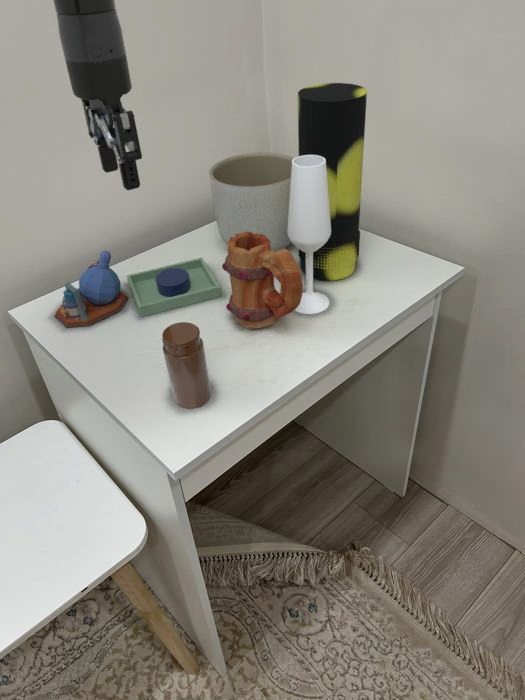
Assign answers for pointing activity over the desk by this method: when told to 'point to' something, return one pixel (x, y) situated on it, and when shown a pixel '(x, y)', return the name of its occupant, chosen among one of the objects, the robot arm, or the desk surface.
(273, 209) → the planter
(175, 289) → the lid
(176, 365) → the jar
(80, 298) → the model
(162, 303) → the tray
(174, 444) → the desk surface
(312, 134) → the container
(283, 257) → the mug
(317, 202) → the champagne flute
